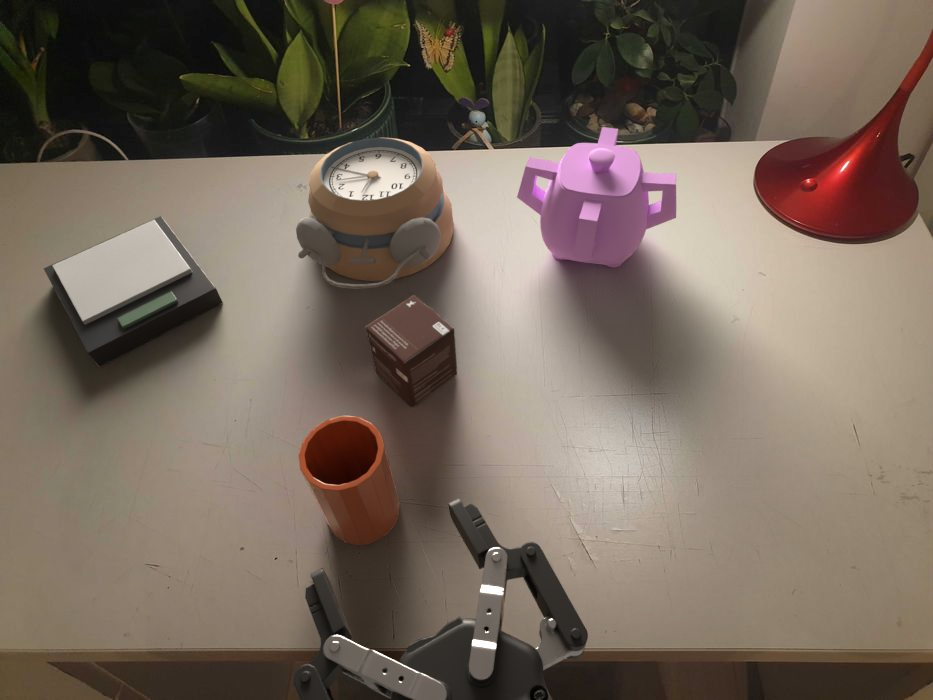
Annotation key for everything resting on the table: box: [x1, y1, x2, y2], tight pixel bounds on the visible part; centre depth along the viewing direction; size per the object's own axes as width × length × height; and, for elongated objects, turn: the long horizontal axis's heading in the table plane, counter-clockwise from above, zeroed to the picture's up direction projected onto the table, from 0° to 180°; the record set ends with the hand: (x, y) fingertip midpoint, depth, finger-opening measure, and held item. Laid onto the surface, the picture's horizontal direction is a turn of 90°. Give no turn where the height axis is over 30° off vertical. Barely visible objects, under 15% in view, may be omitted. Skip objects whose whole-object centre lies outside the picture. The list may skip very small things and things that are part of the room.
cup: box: [298, 415, 401, 546], centre depth 53 cm, size 6×6×10 cm
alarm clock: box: [295, 137, 455, 290], centre depth 74 cm, size 17×9×23 cm
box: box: [364, 294, 458, 408], centre depth 63 cm, size 6×6×7 cm
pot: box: [516, 126, 677, 268], centre depth 72 cm, size 18×17×12 cm
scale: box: [43, 215, 224, 368], centre depth 74 cm, size 14×16×3 cm
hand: (388, 540), depth 38 cm, fingers open, 8 cm apart
